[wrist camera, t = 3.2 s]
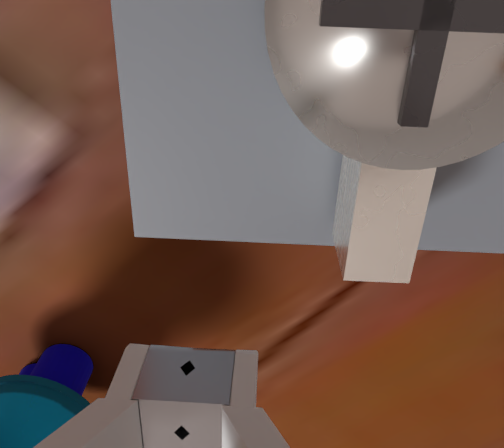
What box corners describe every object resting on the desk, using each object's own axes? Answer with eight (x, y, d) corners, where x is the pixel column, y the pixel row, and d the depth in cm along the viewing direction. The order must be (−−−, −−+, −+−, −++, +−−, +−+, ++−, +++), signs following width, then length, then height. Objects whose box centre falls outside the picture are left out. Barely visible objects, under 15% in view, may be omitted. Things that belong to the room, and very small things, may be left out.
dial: (272, -170, 14) (273, -223, 10) (577, -159, 14) (697, -209, 10) (255, 227, 20) (252, 287, 16) (463, 236, 20) (508, 299, 16)
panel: (102, -376, 14) (55, -474, 11) (762, -357, 14) (905, -452, 11) (149, 207, 24) (131, 243, 21) (542, 224, 24) (584, 264, 20)
